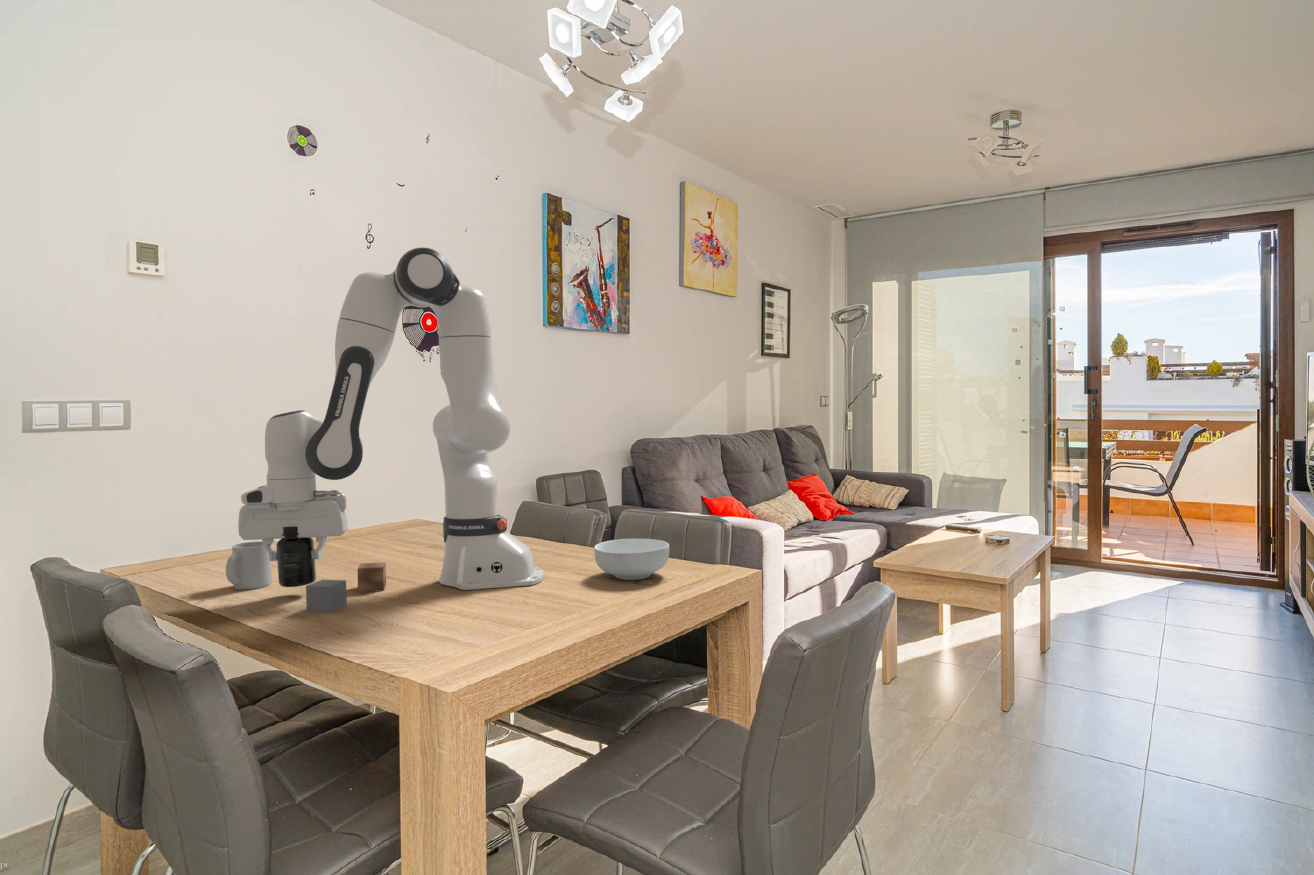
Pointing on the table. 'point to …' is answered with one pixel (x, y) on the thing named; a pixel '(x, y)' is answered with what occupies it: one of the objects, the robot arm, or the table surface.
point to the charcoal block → (326, 596)
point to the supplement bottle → (295, 559)
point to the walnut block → (371, 577)
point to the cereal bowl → (631, 557)
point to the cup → (249, 566)
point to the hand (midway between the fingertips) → (295, 559)
